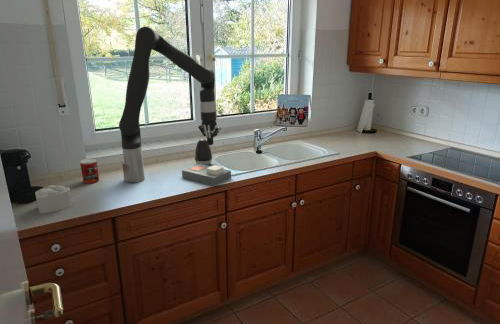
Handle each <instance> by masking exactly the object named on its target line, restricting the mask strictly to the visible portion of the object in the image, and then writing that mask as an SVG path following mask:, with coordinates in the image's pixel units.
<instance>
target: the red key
mask: <svg viewBox="0 0 500 324" xmlns="http://www.w3.org/2000/svg"><path fill="white" fill-rule="evenodd" d="M203 169H205V167H200V166H195V167H193V168H190V170H194V171H200V170H203Z"/></svg>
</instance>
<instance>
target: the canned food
mask: <svg viewBox="0 0 500 324" xmlns="http://www.w3.org/2000/svg"><path fill="white" fill-rule="evenodd" d="M79 164H80V171H81V177H82V181H83V184H87V185H90V184H94V183H98V182H99V181H100V174H99V169H98V161H97V159H96V158H85V159H82V160H80V162H79Z"/></svg>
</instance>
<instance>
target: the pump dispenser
mask: <svg viewBox="0 0 500 324" xmlns="http://www.w3.org/2000/svg"><path fill="white" fill-rule="evenodd" d="M212 160H213V152H212V149H211V145H208V143H207V139H205V138H201V139H199V140H198V141H197V142H196V146H195V149H194V161H195V163H196V165H197V164H203V165H207V166H210V164H211V163H212Z"/></svg>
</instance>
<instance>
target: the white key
mask: <svg viewBox="0 0 500 324" xmlns="http://www.w3.org/2000/svg"><path fill="white" fill-rule="evenodd" d="M210 166H211V167H209V168H207V174H211V175H215V176H216V175H219V174H221V173H223V172H224V171H223V169H224V167H223V166H219V165H215V164H213V165H210Z"/></svg>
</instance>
